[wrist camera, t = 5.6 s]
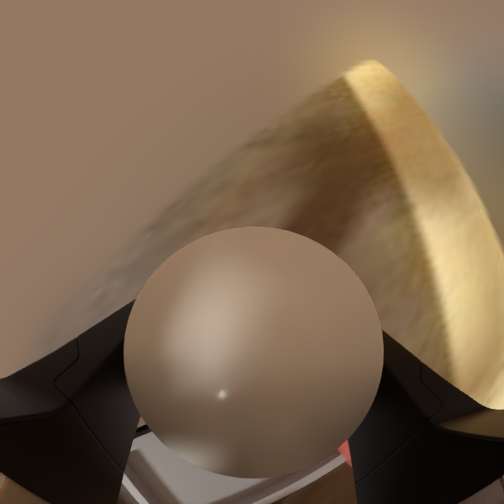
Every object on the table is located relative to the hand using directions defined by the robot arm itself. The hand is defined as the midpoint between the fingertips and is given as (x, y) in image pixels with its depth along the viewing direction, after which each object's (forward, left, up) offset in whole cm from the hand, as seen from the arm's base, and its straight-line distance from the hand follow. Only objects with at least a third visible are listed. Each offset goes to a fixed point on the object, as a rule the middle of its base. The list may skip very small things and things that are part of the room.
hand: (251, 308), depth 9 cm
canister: (-1, +1, -7) cm, 7 cm away
